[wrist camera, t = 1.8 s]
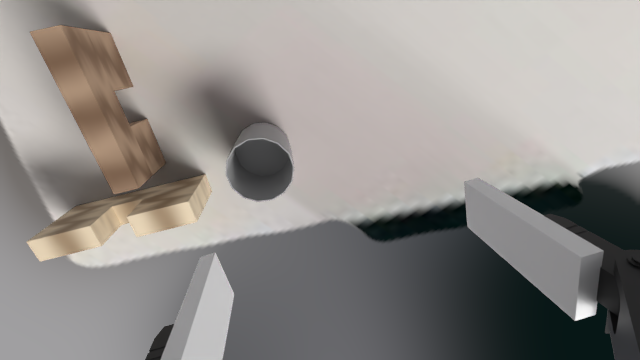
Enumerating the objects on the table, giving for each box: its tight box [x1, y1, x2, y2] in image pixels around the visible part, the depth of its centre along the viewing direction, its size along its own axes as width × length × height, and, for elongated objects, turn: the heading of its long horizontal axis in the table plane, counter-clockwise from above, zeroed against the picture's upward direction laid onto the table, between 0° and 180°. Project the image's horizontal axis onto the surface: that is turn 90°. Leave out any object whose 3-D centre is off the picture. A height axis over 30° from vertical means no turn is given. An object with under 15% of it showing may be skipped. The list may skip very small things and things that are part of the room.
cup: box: [226, 122, 294, 202], centre depth 43 cm, size 8×8×10 cm
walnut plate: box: [30, 25, 166, 194], centre depth 39 cm, size 18×3×10 cm, turn 12°
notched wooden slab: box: [27, 174, 212, 262], centre depth 44 cm, size 20×3×10 cm, turn 102°
